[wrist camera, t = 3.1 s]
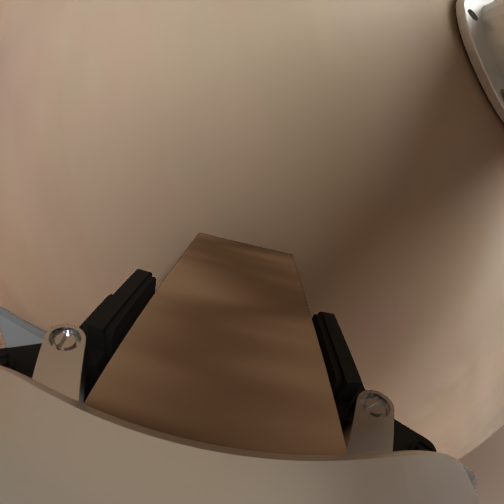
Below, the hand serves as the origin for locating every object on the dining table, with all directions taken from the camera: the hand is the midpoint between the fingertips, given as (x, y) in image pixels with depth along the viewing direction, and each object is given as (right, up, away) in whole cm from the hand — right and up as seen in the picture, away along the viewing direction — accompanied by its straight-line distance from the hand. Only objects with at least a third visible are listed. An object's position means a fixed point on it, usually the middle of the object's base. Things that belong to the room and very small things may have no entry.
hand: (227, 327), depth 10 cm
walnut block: (0, +1, +3) cm, 4 cm away
